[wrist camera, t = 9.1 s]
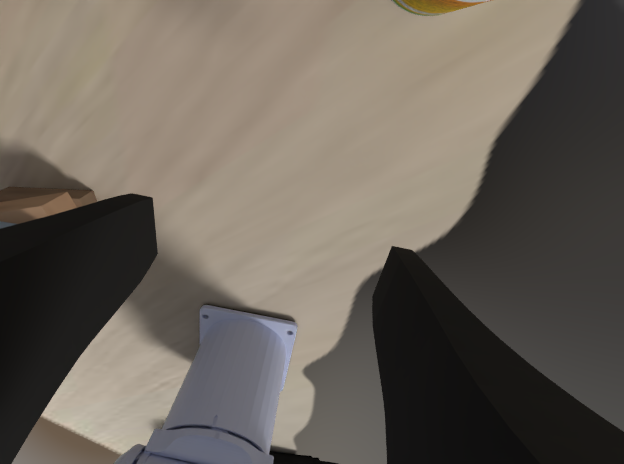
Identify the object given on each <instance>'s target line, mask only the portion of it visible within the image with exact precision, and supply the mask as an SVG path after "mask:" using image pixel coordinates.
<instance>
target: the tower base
mask: <svg viewBox="0 0 624 464" xmlns="http://www.w3.org/2000/svg"><path fill="white" fill-rule="evenodd" d="M62 192H68V194H69V195H70V197H71V198H72V200H73V202H74V203H75V205H76V206H77V208H78V207H81V206H85V205H88V204H91V203H95V202H97V200H96V197H95V194H94V192H93V191H91V190H68V189H46V188H24V187H7V188H5V189H3V190H1V191H0V202H5V201H11V200H17V199H24V198H30V197H37V196H43V195H50V194H56V193H62Z"/></svg>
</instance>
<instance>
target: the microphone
mask: <svg viewBox="0 0 624 464" xmlns="http://www.w3.org/2000/svg"><path fill="white" fill-rule="evenodd" d="M269 455H272V456H273V457H274V460H273V464H337V463H331V462H325V461H320V460H319V458H312V456H307V455H292V454H283V453H272V452H269Z"/></svg>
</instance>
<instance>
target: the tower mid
mask: <svg viewBox="0 0 624 464" xmlns="http://www.w3.org/2000/svg"><path fill="white" fill-rule="evenodd" d="M74 208H77V206H76V205H75V203H74V202H73V200H72V198H71V197H70V195H69V194H68V192H62V193H56V194H50V195H43V196H37V197H30V198H24V199H17V200H11V201H5V202H0V221H1V222H8V223H14V224H20V223H24V222H27V221H31V220H35V219H39V218H43V217H46V216H50V215H54V214H57V213H61V212H64V211H67V210H71V209H74Z"/></svg>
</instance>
